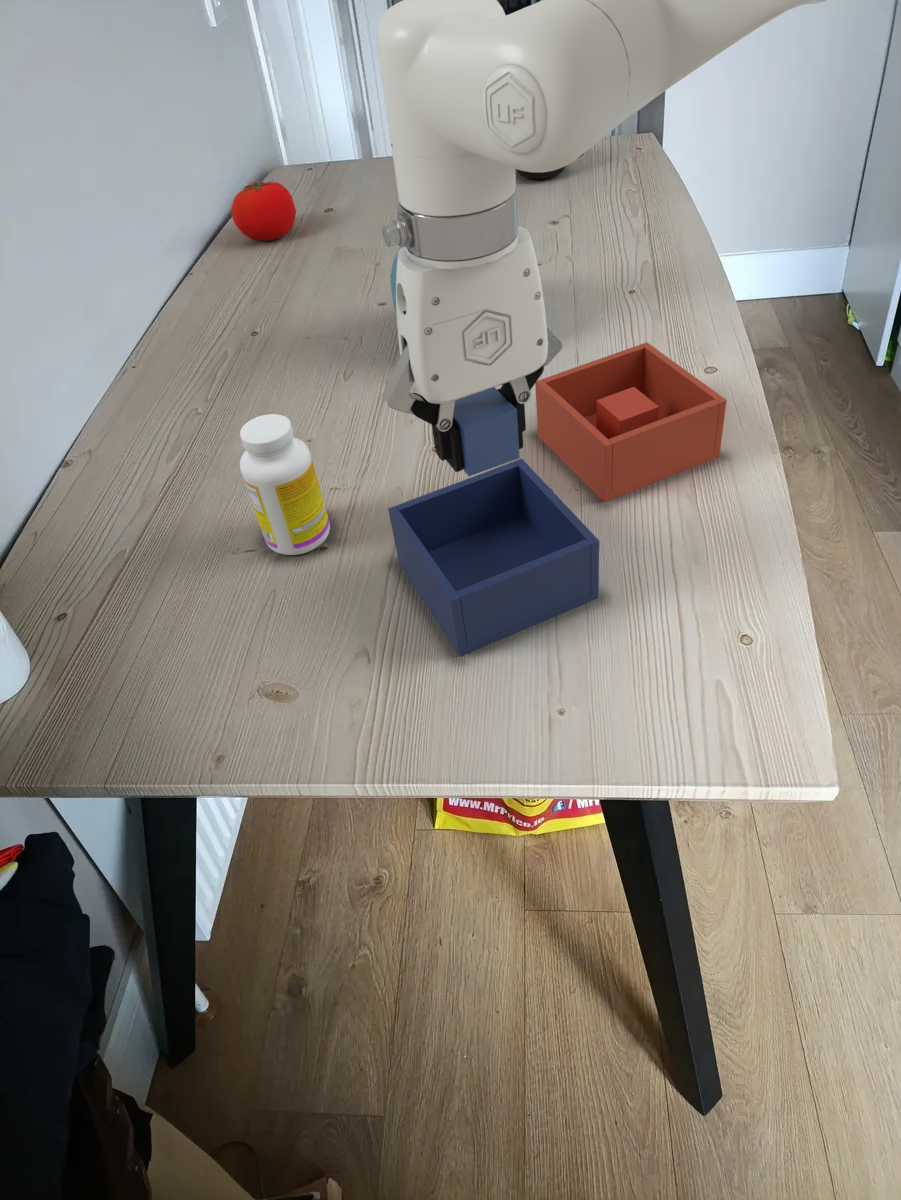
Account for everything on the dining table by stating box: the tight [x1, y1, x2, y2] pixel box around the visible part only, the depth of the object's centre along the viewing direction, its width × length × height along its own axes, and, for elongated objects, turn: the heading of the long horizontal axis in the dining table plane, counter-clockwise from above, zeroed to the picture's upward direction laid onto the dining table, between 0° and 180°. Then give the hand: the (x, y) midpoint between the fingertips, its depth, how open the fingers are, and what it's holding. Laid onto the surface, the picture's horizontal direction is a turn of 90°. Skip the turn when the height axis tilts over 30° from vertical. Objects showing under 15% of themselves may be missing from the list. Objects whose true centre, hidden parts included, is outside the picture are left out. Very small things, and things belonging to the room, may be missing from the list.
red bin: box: [534, 341, 727, 503], centre depth 90 cm, size 14×14×7 cm
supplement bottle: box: [239, 413, 331, 556], centre depth 83 cm, size 7×7×13 cm
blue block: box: [453, 387, 520, 477], centre depth 69 cm, size 4×4×4 cm
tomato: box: [231, 179, 297, 242], centre depth 140 cm, size 9×10×8 cm
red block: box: [596, 387, 659, 440], centre depth 90 cm, size 4×4×4 cm
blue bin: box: [387, 458, 600, 657], centre depth 78 cm, size 14×14×7 cm
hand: (481, 449), depth 70 cm, fingers closed on blue block, 4 cm apart
